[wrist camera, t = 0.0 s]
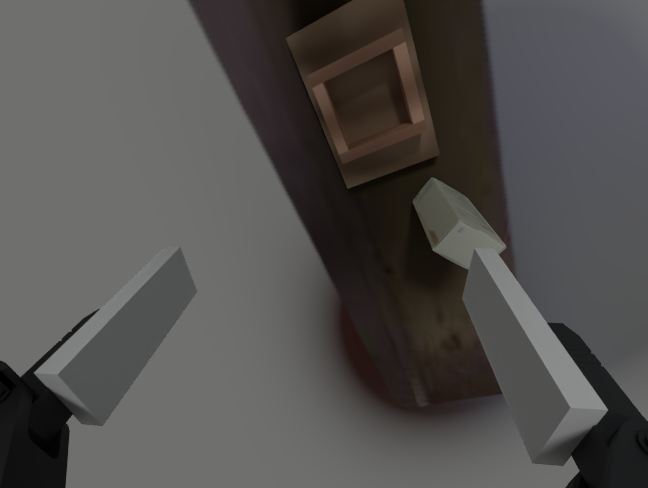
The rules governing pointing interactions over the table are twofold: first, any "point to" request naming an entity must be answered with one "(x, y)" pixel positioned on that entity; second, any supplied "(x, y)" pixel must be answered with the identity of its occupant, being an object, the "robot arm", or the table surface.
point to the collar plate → (366, 88)
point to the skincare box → (453, 223)
